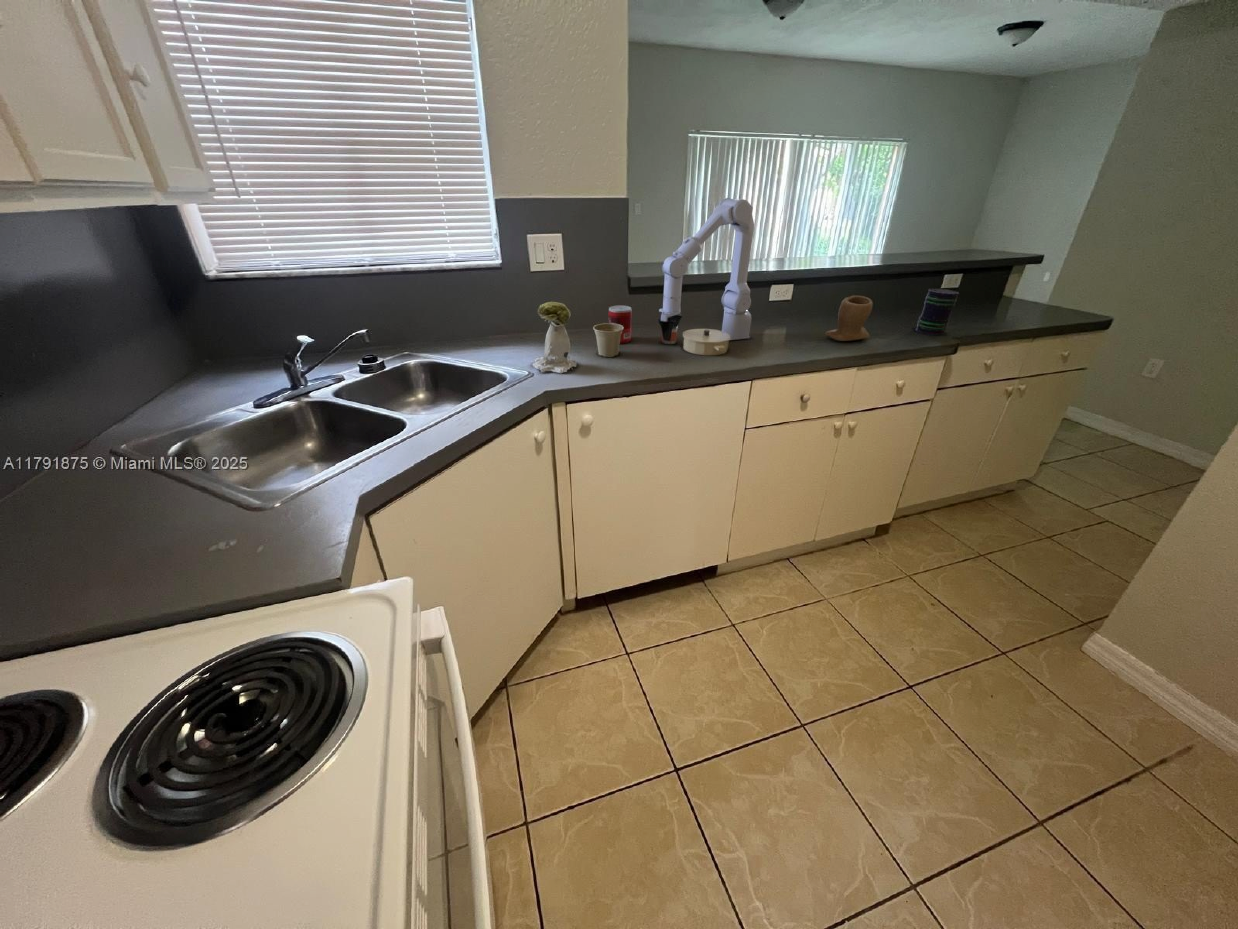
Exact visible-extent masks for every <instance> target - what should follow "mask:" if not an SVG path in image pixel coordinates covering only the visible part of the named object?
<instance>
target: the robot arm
mask: <svg viewBox="0 0 1238 929" xmlns="http://www.w3.org/2000/svg"><path fill="white" fill-rule="evenodd" d="M753 210H754V208H753V206H752V205H751V203H750V202H749V201H748V200H747V199H738V198H737V199H736V198H730V197H725V198H723V199H722V200H721V201H720V202H719V204H718V205H716V206H715V207H714V209H713V212H712V213H711V215H710V216H709V217H708V219H707V220H706V221H705V222H704V223H703V225H702V226H701V227H700V229H699V230H698V231H697V232H696V233H695V235H694V236H688V237H687V238H684V239H683V240H682V244H681V245H680V246H678V249H676V250H675V251H673V252H672V255H671V256H668V257H666V258H665V260H664V261H663V264H662V265H661V271H662V273H663V274H664V279H663V280H664V281H663V298H662V308H659V309H658V313H659V312H660V313H661V314H660V317H659V318H658V324H659V326H660V329H661V336H662V335H663V340H667V341H669V340H670V338H671V333H672V329H673V326H676V327H677V328H678V327H679V324H680V322H681V320H682V318H683V314H681V307H682V306H681V301H682V288H683V276H684V275H686V273H687V271H688V267H689V265H690V264H691V263H692V262H693V261H694V260H695V258H696V257H697V256H698V255H699V254H700V253H701V252H702V248H703V244H704V243H705V242H706V241H707V240H708V239H709V238H710V237H711V236H712V235H713V234H714V233H715V232H716V231H717V230H718V229H719V228H721V226H726V225H727V226H728V225H730V226H731V227H732V228H733V230H734V231H735V238H734V247H733V255H732V263H731V270H730V279H729V282H728V283H727V284H726V286H724V289H725V290H724V292H723V294H722V296H721V304H722V306H723V310H724V311H723V318H722V325H721V331H722V332H725V333H727V334H729V335H730V340H729V341H735V340H746V339H747V340H748V339H750V338H751V336H750V332H751V327H752V326H751V325H752V314H751V312H750V311H749V309H750V308H751V305H752V299H751V289H750V287H749V285H748V283H747V281H748V274H749V269H750V268H749V267H750V266H749V265H750V260H751V253H752V246H753V240H754V239H753V238H754V234H755V233H754V232H755V220H754V217H753Z"/></svg>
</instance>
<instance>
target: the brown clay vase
mask: <svg viewBox="0 0 1238 929" xmlns="http://www.w3.org/2000/svg"><path fill="white" fill-rule="evenodd" d="M872 310H873V300H872V298H869V297H866V296H863V295H850V296H848V297H844V298H843V300H842V301H841V303H840V306H839V309H838V314H837V320H838V321H837V328H836V329H831V330H827V331H826V332H825V335H826V337H828V338H830V339H831V340H835V341H839V342H850V341H858V340H866V339H870V338H871V337H870V334H869V332H868V330H866V328H865V327H863V326H864V324H865V323H866V322H867V319H868V318H869V316H870V315H871V313H872Z"/></svg>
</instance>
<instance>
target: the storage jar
mask: <svg viewBox="0 0 1238 929" xmlns="http://www.w3.org/2000/svg"><path fill="white" fill-rule="evenodd" d="M959 294H960V292H959V291H957V290H954V289H948V288H939V287H938V288H935V287H934V288H928V293H927V294H926V296H925V298H924V302H923V309H922V311H921V313H920V315H919V317H918V320H917V324H916V328H915V331H916V332H918V333H920V334H924V335H929V336H943V335H944V334H945V332H946V330H947V327H948V325H949V322H950V316H951V314H952V311H953V309H954V308H955V305H956V304H957V299H958V296H959Z"/></svg>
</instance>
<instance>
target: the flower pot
mask: <svg viewBox="0 0 1238 929" xmlns="http://www.w3.org/2000/svg"><path fill="white" fill-rule="evenodd" d="M592 329H593V331H594V334H595V338H596V344H597V351H598V355H599V356H602V357H604V358H614V357H615V356H618V355H619V350H620V337H621V334H622V330H623V329H624V328H623V326H621V325H619V324H612V323H609V322H607V323H606V322H604V323H597V324H595V325H594V326H593V327H592Z"/></svg>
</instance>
